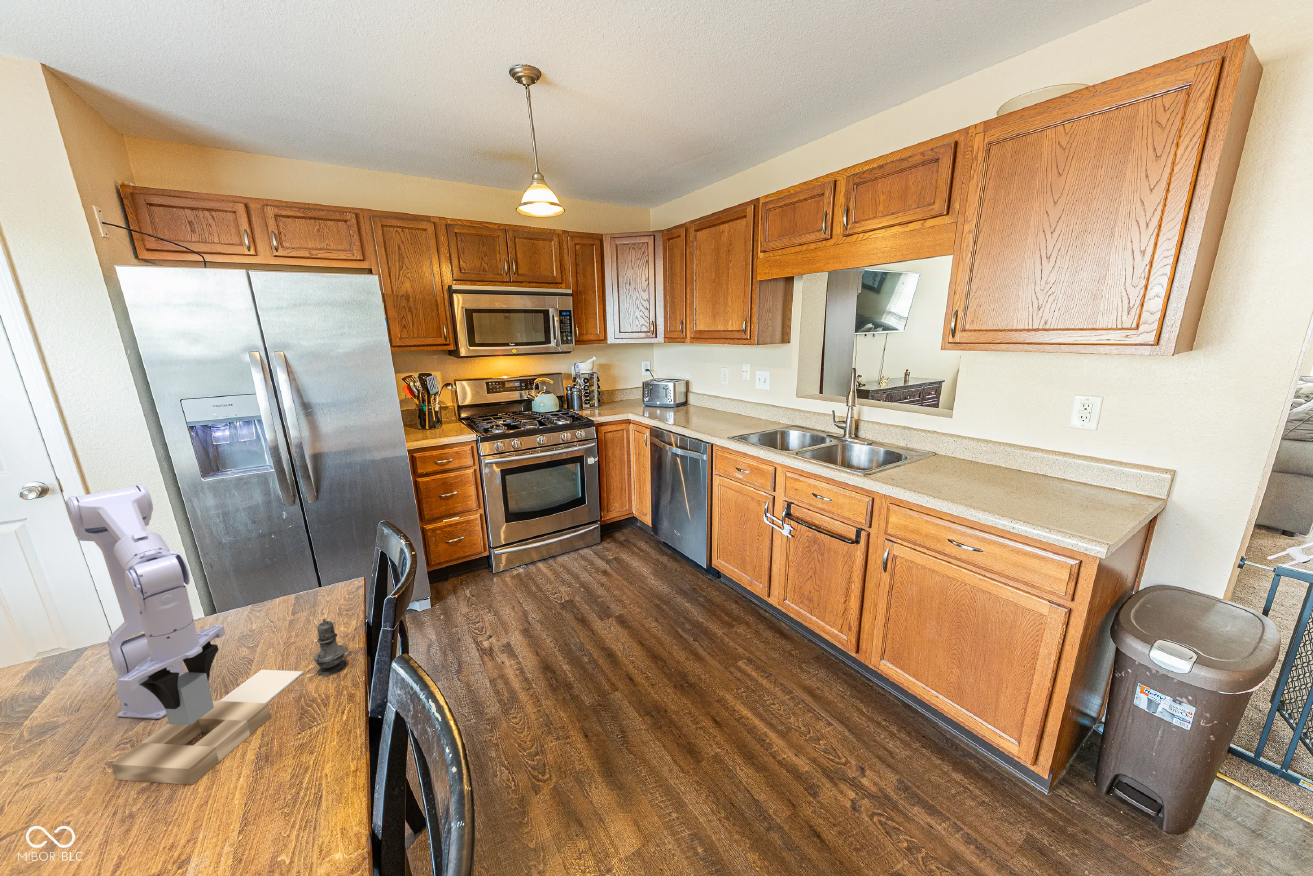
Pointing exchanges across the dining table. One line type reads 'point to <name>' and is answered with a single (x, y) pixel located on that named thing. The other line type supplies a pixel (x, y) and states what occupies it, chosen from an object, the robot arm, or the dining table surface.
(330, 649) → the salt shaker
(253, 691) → the coaster
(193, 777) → the pocket board
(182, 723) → the peg
